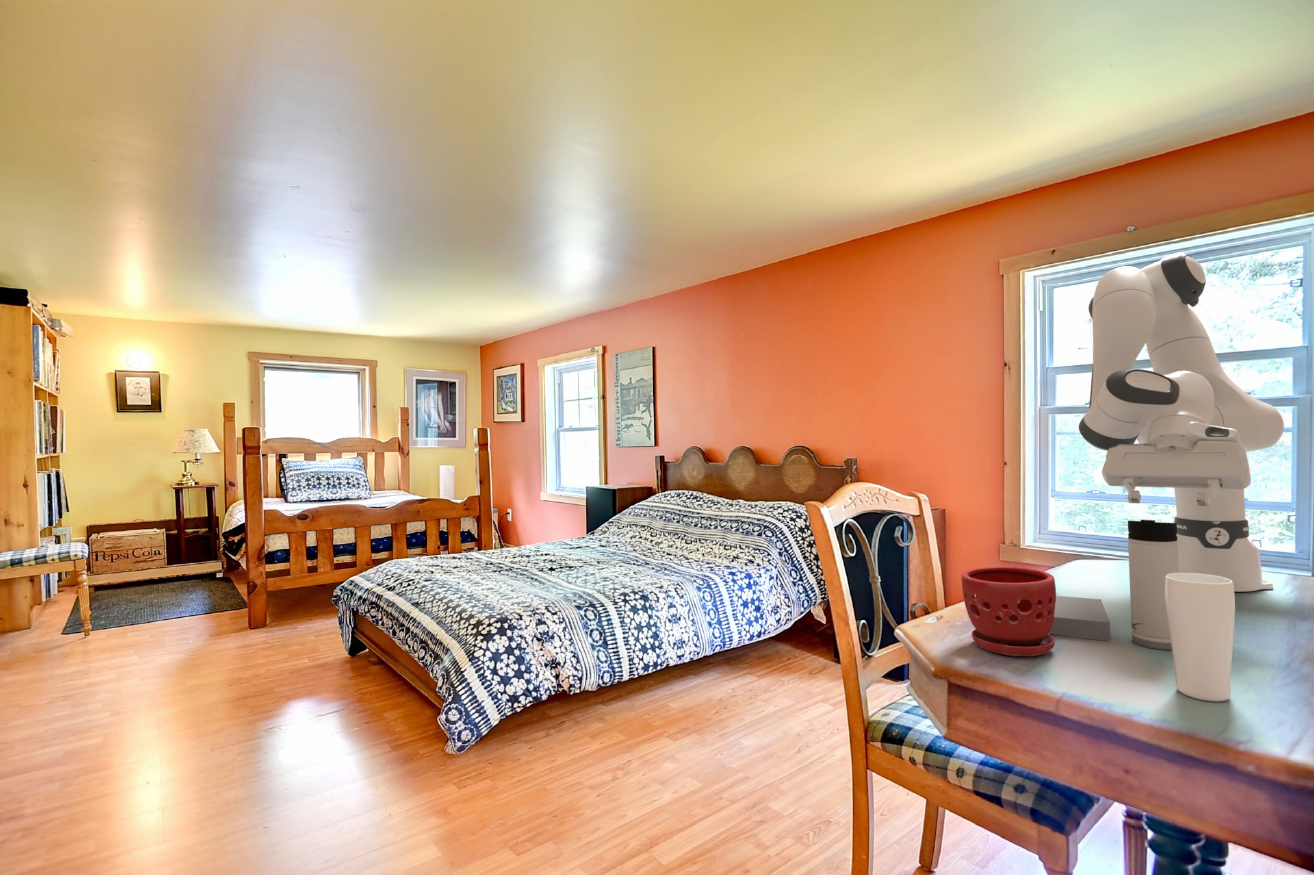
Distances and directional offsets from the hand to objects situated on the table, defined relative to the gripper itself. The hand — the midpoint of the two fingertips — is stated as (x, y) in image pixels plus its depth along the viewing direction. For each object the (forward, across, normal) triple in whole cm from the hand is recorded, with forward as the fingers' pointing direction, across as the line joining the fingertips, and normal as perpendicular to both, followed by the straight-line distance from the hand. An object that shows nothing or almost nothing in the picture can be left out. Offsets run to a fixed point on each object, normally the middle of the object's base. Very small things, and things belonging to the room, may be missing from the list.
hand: (1167, 502), depth 108 cm
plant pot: (+36, -15, -5) cm, 39 cm away
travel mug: (+24, 0, +7) cm, 25 cm away
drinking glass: (+38, +9, -7) cm, 39 cm away
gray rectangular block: (+22, -14, +8) cm, 27 cm away
